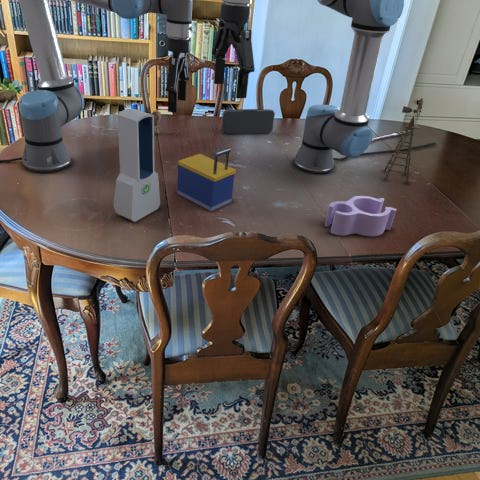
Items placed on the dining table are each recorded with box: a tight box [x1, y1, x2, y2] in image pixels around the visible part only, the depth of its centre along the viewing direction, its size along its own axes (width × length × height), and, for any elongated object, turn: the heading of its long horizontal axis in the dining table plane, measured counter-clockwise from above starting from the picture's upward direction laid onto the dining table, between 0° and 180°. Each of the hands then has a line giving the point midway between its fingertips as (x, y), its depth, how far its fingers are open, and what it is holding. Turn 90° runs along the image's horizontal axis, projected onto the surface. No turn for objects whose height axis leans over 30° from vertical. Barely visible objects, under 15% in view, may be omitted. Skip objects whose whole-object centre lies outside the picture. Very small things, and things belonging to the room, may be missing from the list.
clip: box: [324, 195, 398, 237], centre depth 141 cm, size 20×12×7 cm, turn 109°
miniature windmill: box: [383, 97, 424, 184], centre depth 169 cm, size 9×8×30 cm
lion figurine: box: [150, 110, 162, 127], centre depth 189 cm, size 15×5×9 cm, turn 110°
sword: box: [371, 131, 410, 143], centre depth 215 cm, size 31×3×1 cm, turn 126°
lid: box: [177, 146, 237, 182], centre depth 142 cm, size 16×10×8 cm, turn 50°
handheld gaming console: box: [221, 108, 276, 135], centre depth 201 cm, size 23×3×10 cm, turn 108°
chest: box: [176, 164, 235, 212], centre depth 147 cm, size 15×10×10 cm, turn 50°
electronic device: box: [112, 107, 161, 223], centre depth 130 cm, size 12×8×30 cm, turn 148°
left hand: (177, 105), depth 155 cm, fingers open, 13 cm apart
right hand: (229, 90), depth 127 cm, fingers open, 13 cm apart
